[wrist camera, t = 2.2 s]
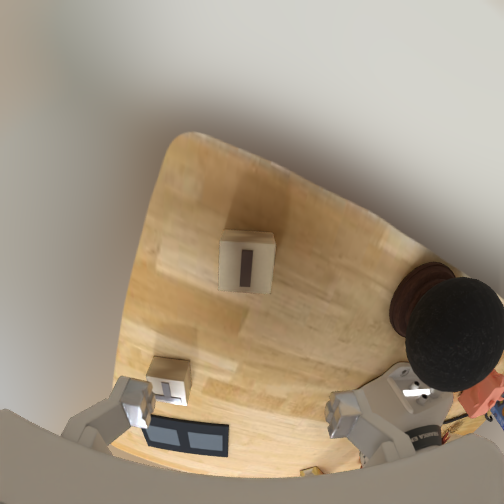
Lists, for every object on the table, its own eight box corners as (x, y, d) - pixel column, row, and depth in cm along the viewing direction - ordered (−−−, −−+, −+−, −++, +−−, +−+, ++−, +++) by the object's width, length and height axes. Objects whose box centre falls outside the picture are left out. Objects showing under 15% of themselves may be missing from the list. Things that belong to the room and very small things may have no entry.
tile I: (272, 232, 28) (276, 244, 24) (268, 277, 30) (270, 295, 26) (223, 228, 28) (219, 240, 24) (221, 273, 30) (217, 291, 26)
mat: (228, 424, 39) (228, 427, 38) (227, 455, 43) (227, 457, 42) (136, 411, 38) (135, 413, 38) (148, 444, 42) (148, 446, 42)
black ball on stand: (431, 344, 34) (479, 409, 20) (366, 335, 33) (412, 422, 19) (470, 267, 30) (540, 318, 16) (409, 242, 29) (493, 302, 15)
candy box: (298, 470, 46) (305, 526, 32) (316, 465, 46) (326, 521, 31) (311, 480, 49) (318, 529, 34) (327, 475, 48) (336, 525, 34)
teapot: (475, 399, 42) (489, 420, 34) (441, 403, 40) (457, 430, 32) (503, 360, 38) (521, 381, 30) (474, 360, 37) (495, 386, 29)
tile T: (189, 360, 34) (184, 382, 30) (191, 385, 36) (187, 406, 32) (153, 355, 34) (145, 376, 30) (158, 380, 35) (151, 400, 32)
